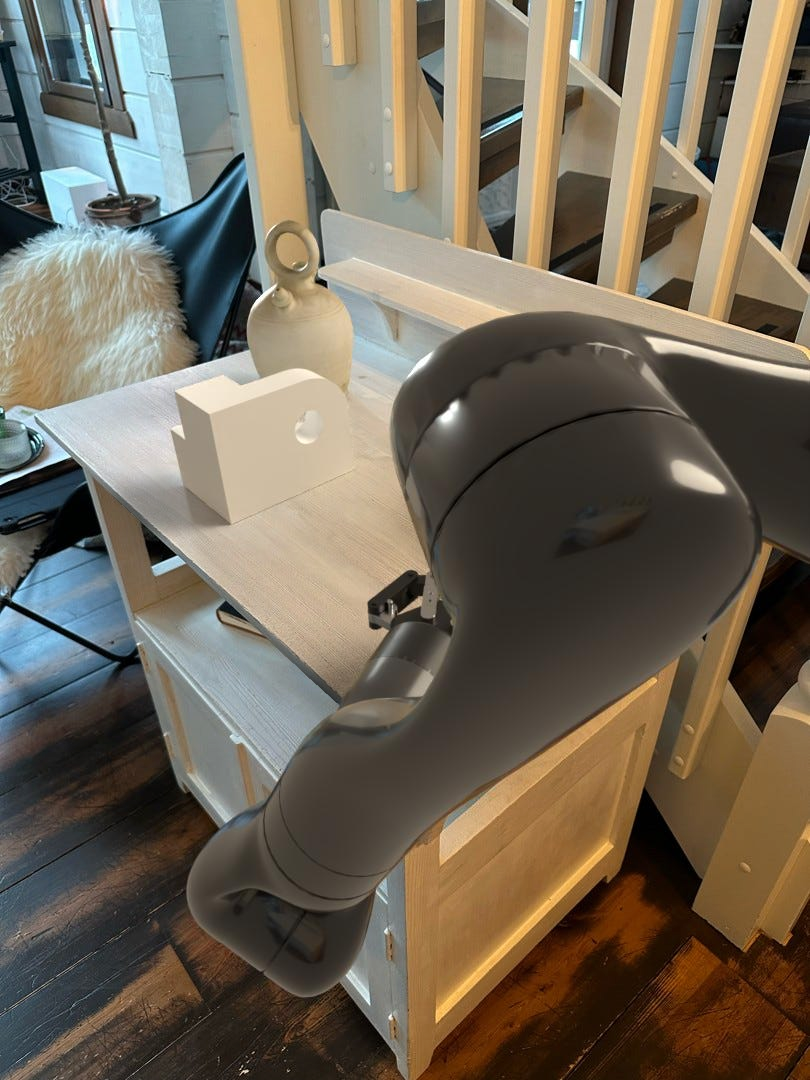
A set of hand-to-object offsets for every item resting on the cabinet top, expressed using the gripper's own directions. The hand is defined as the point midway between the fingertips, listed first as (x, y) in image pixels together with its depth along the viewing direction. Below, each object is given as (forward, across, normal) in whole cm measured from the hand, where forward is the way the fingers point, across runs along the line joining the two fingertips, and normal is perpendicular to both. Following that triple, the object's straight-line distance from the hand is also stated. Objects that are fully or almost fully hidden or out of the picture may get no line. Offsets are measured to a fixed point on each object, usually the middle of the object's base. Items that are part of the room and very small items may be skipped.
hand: (485, 566), depth 67 cm
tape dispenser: (+16, +35, +8) cm, 39 cm away
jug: (+39, +43, +8) cm, 59 cm away
